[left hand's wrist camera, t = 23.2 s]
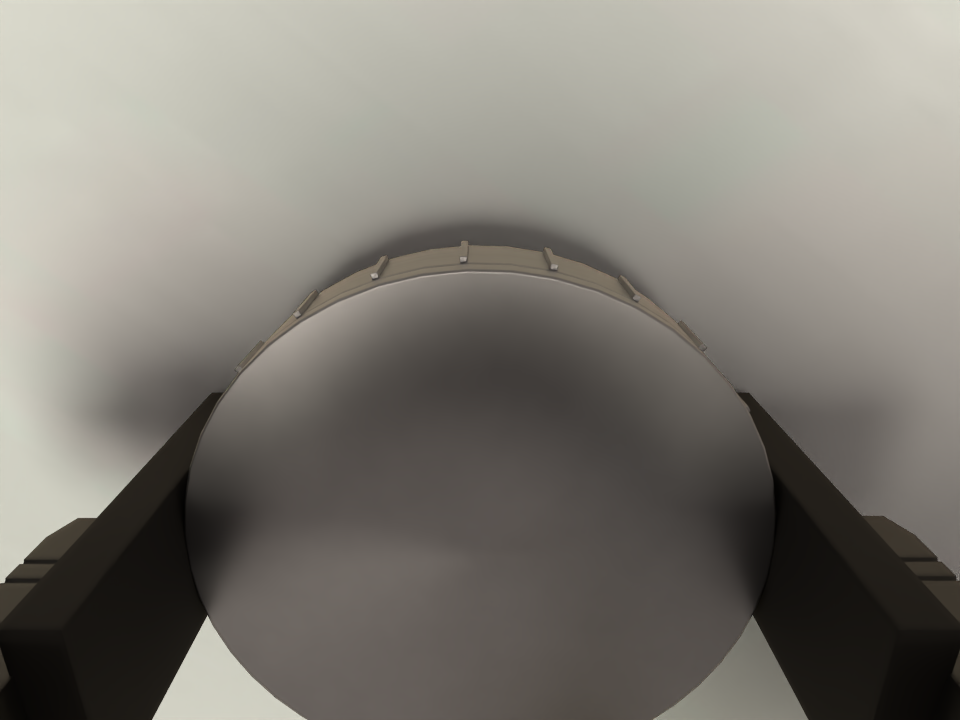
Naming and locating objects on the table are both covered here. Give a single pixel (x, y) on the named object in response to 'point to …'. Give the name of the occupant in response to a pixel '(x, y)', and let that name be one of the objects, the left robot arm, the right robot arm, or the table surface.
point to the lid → (480, 498)
